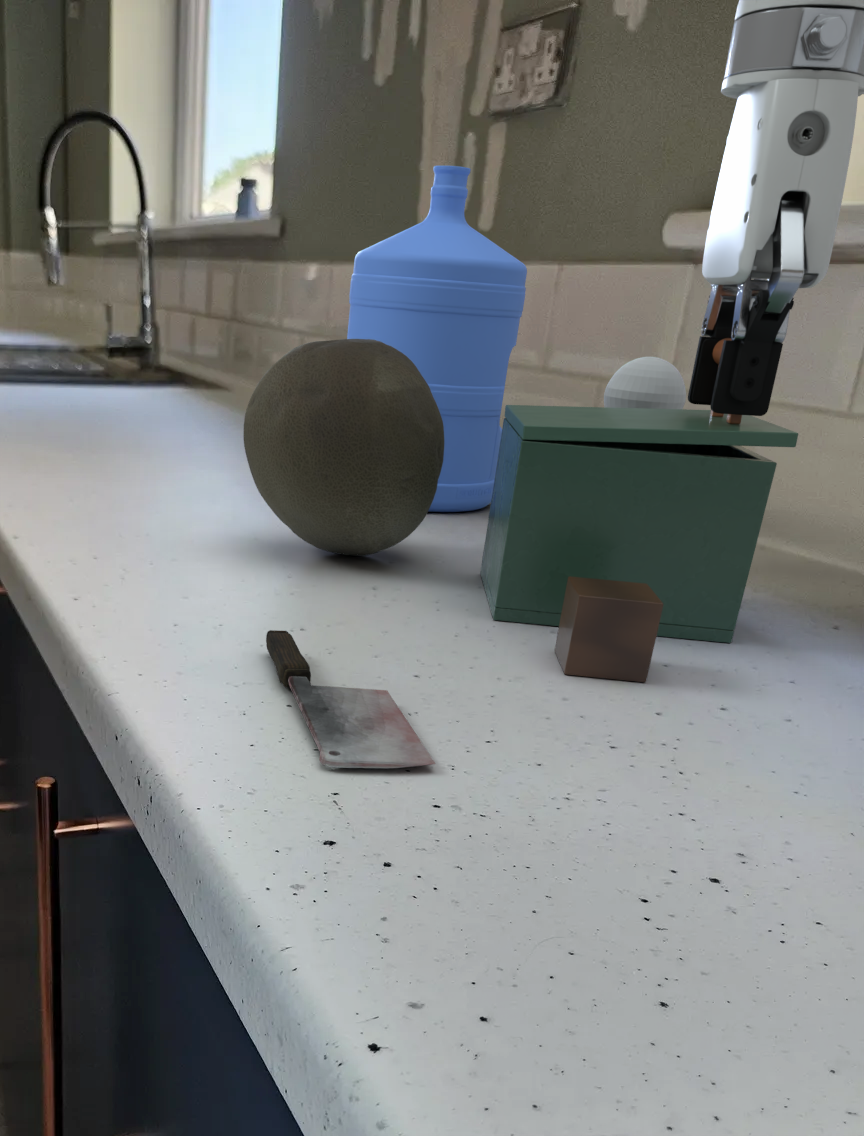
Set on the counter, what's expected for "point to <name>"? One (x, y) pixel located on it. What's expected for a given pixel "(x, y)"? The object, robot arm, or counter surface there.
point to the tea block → (608, 629)
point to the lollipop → (646, 385)
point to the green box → (625, 527)
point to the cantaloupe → (345, 444)
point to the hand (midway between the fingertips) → (725, 406)
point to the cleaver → (347, 716)
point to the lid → (646, 424)
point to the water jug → (447, 328)
